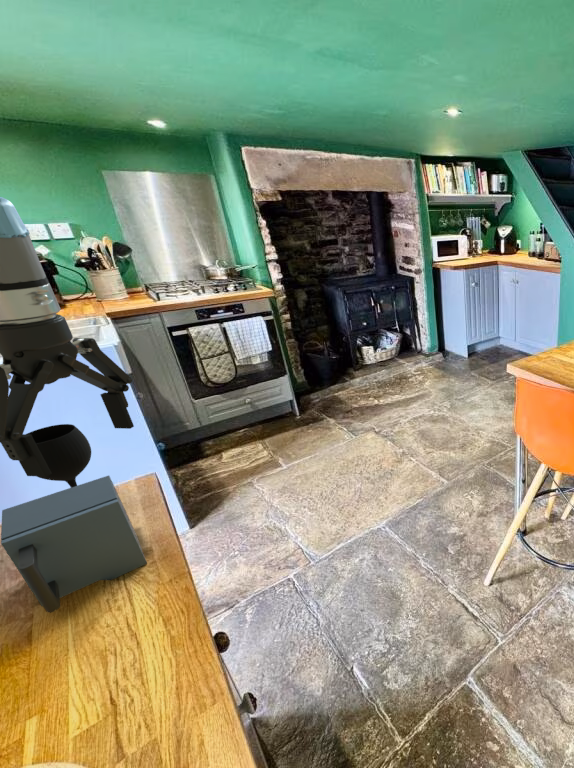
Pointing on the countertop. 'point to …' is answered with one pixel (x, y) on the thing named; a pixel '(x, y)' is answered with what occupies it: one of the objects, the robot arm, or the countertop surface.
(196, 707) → the countertop surface
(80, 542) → the cupboard door
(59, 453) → the wine glass
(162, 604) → the countertop surface
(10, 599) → the countertop surface
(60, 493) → the cupboard
